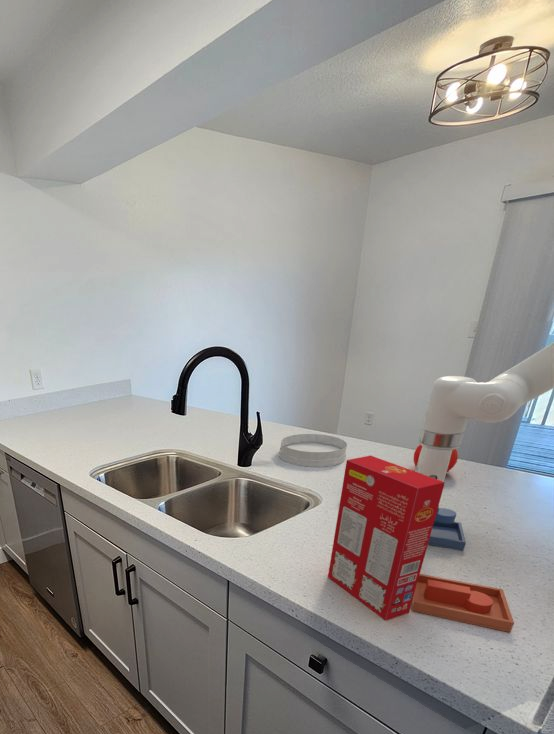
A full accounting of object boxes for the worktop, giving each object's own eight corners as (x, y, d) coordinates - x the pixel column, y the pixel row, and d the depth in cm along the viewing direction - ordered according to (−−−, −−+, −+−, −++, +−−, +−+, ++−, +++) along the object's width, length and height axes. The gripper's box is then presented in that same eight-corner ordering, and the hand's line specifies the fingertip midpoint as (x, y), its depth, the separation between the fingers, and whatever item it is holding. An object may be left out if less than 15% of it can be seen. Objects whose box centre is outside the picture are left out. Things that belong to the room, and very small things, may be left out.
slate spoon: (403, 509, 103) (406, 498, 102) (453, 516, 99) (457, 504, 98) (403, 517, 100) (406, 505, 99) (455, 524, 96) (459, 512, 94)
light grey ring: (346, 449, 158) (348, 435, 156) (344, 469, 141) (346, 454, 138) (284, 444, 167) (285, 432, 165) (274, 463, 149) (275, 449, 147)
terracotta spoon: (423, 589, 82) (427, 576, 81) (488, 602, 78) (493, 588, 77) (424, 602, 79) (428, 588, 78) (492, 616, 75) (497, 602, 73)
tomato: (422, 463, 142) (430, 432, 137) (460, 473, 133) (470, 440, 128) (401, 472, 136) (408, 440, 132) (438, 482, 127) (447, 448, 123)
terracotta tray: (499, 598, 80) (503, 589, 79) (510, 632, 72) (514, 623, 71) (411, 580, 86) (413, 572, 85) (411, 610, 78) (414, 601, 77)
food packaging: (408, 612, 77) (444, 482, 66) (385, 620, 76) (418, 488, 64) (348, 571, 90) (370, 455, 78) (327, 577, 88) (346, 459, 77)
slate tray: (458, 530, 102) (461, 522, 101) (463, 550, 94) (466, 542, 94) (391, 520, 108) (392, 513, 108) (390, 538, 101) (391, 531, 100)
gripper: (418, 427, 100) (401, 500, 108) (421, 447, 87) (401, 528, 96) (457, 429, 96) (436, 504, 105) (465, 451, 84) (441, 534, 92)
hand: (419, 515), depth 100 cm, fingers closed on slate spoon, 2 cm apart
